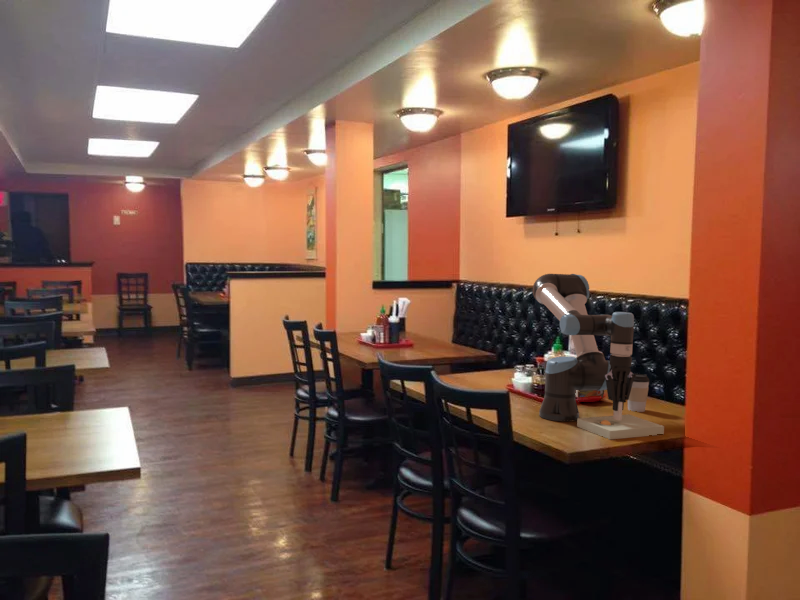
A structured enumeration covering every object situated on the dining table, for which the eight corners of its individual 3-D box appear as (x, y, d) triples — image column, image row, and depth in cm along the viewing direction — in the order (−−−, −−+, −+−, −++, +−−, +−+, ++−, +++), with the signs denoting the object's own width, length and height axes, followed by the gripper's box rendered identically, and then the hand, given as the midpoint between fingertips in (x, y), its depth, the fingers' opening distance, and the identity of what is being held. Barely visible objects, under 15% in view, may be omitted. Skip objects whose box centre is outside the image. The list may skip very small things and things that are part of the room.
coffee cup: (627, 411, 268) (629, 375, 267) (622, 406, 277) (624, 371, 276) (650, 413, 267) (652, 376, 266) (644, 408, 276) (646, 372, 275)
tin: (578, 404, 280) (579, 384, 280) (573, 402, 283) (574, 383, 282) (604, 401, 288) (605, 382, 287) (598, 399, 290) (599, 381, 290)
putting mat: (577, 426, 242) (577, 418, 242) (628, 422, 251) (629, 414, 251) (609, 439, 225) (610, 430, 225) (663, 434, 234) (664, 426, 234)
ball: (596, 429, 236) (598, 418, 236) (605, 430, 238) (606, 419, 238) (603, 432, 233) (605, 420, 233) (612, 432, 234) (614, 421, 234)
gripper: (613, 357, 230) (610, 423, 231) (642, 356, 235) (638, 420, 237) (599, 353, 237) (596, 418, 238) (627, 352, 242) (624, 415, 243)
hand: (617, 419), depth 237 cm, fingers closed
